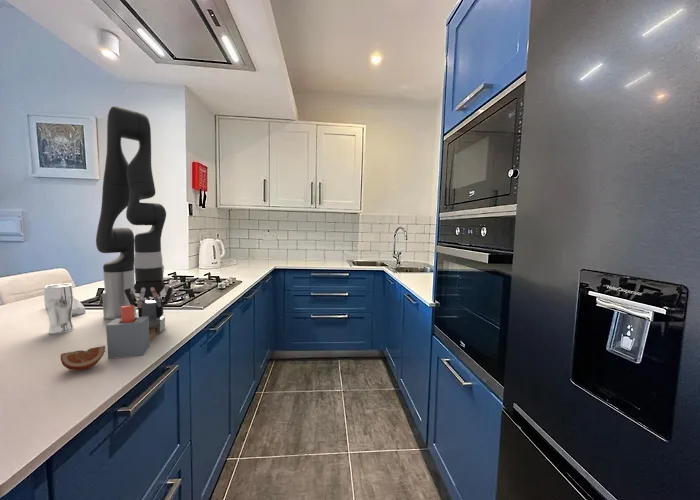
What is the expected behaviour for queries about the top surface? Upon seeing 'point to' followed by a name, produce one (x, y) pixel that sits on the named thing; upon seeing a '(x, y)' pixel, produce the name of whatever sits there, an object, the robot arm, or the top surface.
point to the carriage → (152, 315)
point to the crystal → (77, 308)
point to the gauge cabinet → (127, 338)
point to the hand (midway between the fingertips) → (151, 317)
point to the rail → (152, 333)
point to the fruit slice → (82, 358)
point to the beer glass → (59, 307)
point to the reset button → (127, 314)
